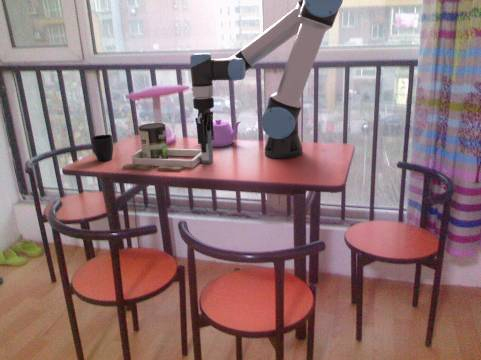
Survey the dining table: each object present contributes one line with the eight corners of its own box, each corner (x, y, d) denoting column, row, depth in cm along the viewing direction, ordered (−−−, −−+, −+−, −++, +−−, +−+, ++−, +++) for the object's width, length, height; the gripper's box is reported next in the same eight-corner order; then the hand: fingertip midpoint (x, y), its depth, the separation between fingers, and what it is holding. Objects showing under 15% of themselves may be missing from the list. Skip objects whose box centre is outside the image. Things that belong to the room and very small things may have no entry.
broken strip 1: (152, 167, 159) (152, 165, 159) (149, 170, 157) (149, 167, 156) (126, 166, 162) (126, 163, 162) (122, 168, 159) (122, 166, 159)
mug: (122, 154, 179) (119, 132, 175) (109, 163, 167) (106, 139, 164) (104, 154, 180) (101, 132, 177) (90, 162, 169) (86, 139, 166)
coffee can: (172, 156, 172) (169, 122, 167) (163, 164, 162) (159, 128, 158) (149, 156, 174) (144, 122, 169) (138, 163, 164) (133, 128, 160)
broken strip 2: (183, 168, 156) (183, 166, 156) (180, 171, 153) (180, 168, 153) (161, 167, 158) (161, 165, 158) (157, 170, 156) (157, 167, 155)
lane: (217, 156, 169) (215, 126, 165) (204, 168, 155) (202, 136, 151) (150, 153, 177) (146, 125, 172) (132, 165, 163) (128, 134, 159)
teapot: (237, 149, 179) (236, 123, 175) (194, 147, 185) (192, 122, 181) (246, 141, 191) (246, 117, 187) (206, 139, 197) (204, 116, 193)
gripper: (201, 93, 163) (205, 151, 171) (185, 101, 147) (190, 164, 155) (219, 93, 161) (223, 152, 169) (205, 101, 146) (209, 165, 153)
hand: (207, 158), depth 162 cm, fingers closed on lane, 4 cm apart
